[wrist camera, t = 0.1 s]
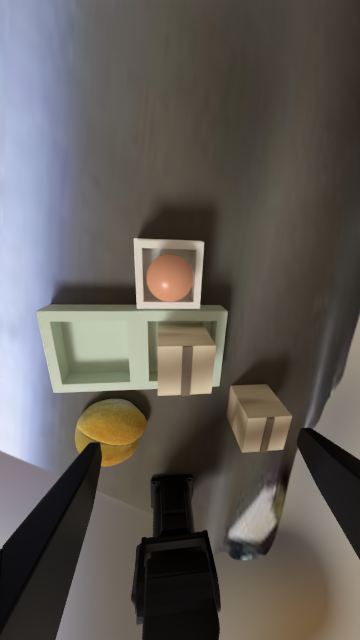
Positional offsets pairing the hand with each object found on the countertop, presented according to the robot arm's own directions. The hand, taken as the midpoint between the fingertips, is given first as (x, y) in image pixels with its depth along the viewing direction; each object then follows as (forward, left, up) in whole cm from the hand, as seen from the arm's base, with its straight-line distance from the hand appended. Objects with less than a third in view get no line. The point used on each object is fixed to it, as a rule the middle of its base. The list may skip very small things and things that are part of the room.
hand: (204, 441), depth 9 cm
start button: (+6, +1, -11) cm, 13 cm away
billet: (-11, -10, -15) cm, 21 cm away
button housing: (+6, +1, -15) cm, 16 cm away
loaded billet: (-2, 0, -14) cm, 14 cm away
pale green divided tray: (-2, +4, -15) cm, 15 cm away
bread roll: (-14, +8, -15) cm, 22 cm away
